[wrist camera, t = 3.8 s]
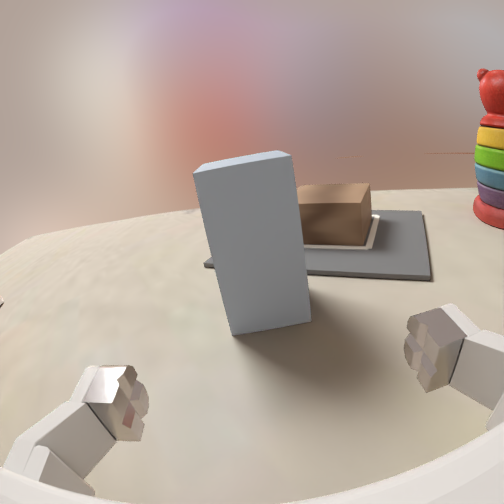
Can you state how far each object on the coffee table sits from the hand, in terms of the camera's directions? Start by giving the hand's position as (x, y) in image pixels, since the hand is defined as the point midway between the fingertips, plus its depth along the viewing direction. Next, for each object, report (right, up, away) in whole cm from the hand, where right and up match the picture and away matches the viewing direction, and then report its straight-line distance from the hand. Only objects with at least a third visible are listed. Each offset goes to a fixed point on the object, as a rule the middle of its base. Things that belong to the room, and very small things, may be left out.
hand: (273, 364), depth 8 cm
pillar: (+1, -1, +13) cm, 13 cm away
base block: (+8, +5, +23) cm, 25 cm away
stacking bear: (+30, +7, +18) cm, 36 cm away
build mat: (+7, +5, +22) cm, 24 cm away
